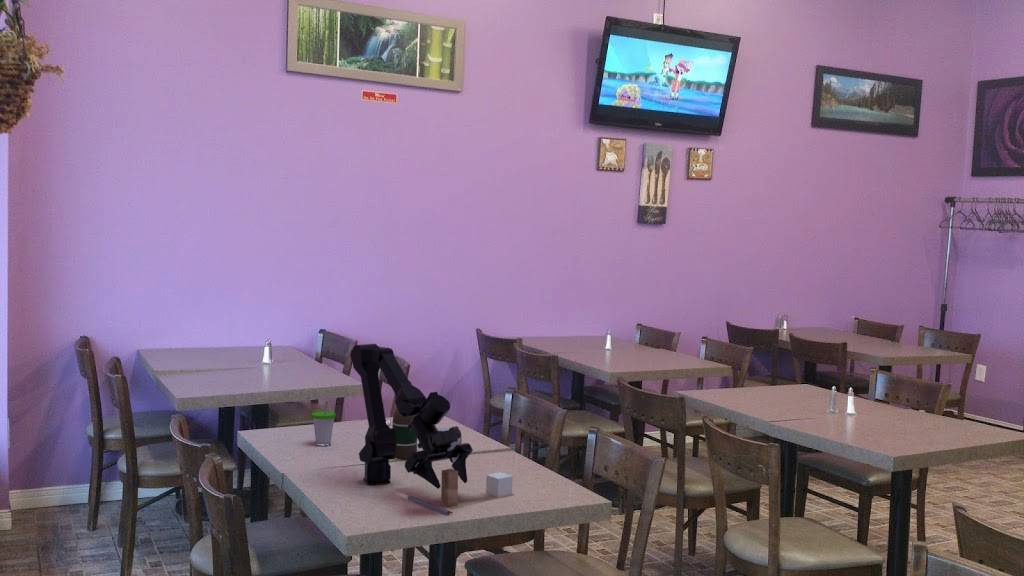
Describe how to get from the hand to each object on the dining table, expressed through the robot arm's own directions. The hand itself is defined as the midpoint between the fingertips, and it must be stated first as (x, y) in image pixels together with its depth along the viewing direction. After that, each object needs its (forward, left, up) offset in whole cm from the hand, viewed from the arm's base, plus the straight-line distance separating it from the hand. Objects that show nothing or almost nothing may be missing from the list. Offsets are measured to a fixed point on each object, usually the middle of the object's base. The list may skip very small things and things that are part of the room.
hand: (452, 484), depth 245 cm
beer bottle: (+3, +57, -7) cm, 58 cm away
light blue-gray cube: (+16, +7, -6) cm, 18 cm away
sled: (+8, +4, -7) cm, 11 cm away
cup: (-18, +80, -7) cm, 83 cm away
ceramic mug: (+18, +63, -7) cm, 66 cm away
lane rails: (+6, +9, -7) cm, 13 cm away
